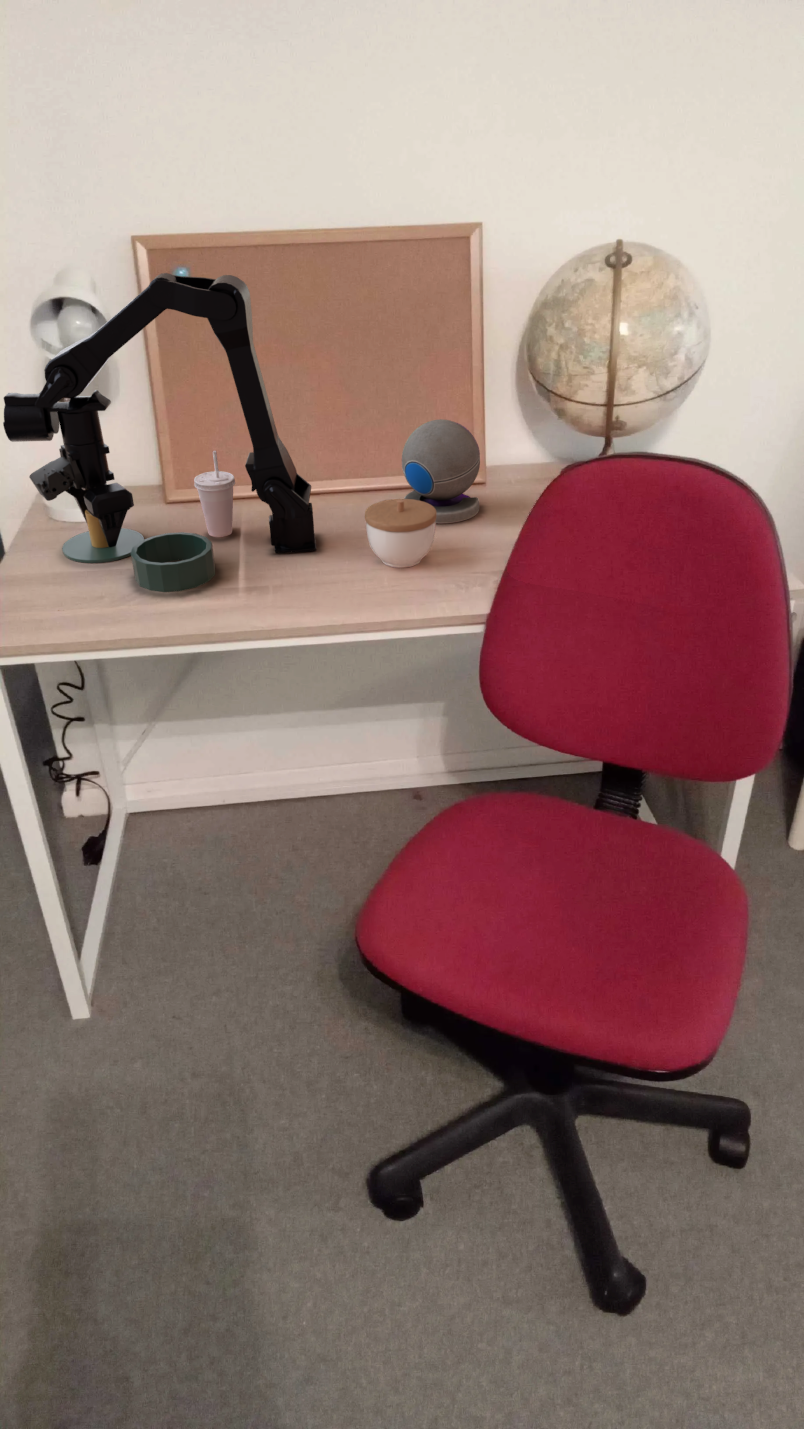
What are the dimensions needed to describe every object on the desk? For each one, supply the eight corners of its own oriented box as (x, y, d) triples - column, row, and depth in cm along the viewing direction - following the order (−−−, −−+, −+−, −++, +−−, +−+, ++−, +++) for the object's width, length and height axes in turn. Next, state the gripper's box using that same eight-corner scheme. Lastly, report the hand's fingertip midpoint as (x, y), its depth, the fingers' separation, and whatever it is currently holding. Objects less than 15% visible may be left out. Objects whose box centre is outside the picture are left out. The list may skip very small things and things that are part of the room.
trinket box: (447, 551, 154) (447, 493, 149) (419, 579, 146) (418, 519, 141) (385, 540, 158) (383, 484, 153) (354, 567, 150) (351, 508, 144)
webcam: (493, 507, 169) (496, 419, 161) (446, 530, 161) (446, 439, 153) (434, 490, 176) (435, 405, 168) (386, 511, 168) (384, 423, 160)
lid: (148, 531, 163) (142, 493, 159) (141, 563, 152) (134, 523, 148) (70, 536, 161) (61, 498, 158) (57, 569, 151) (48, 528, 147)
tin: (216, 559, 153) (213, 529, 150) (214, 592, 143) (210, 561, 141) (140, 564, 152) (135, 534, 149) (132, 597, 142) (127, 567, 140)
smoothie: (232, 545, 158) (222, 459, 150) (194, 541, 159) (183, 456, 151) (246, 529, 163) (238, 445, 155) (209, 525, 164) (199, 442, 156)
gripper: (10, 433, 150) (33, 530, 158) (48, 467, 137) (71, 571, 145) (82, 420, 155) (100, 514, 163) (125, 451, 142) (143, 552, 150)
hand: (102, 537), depth 156 cm, fingers open, 8 cm apart
